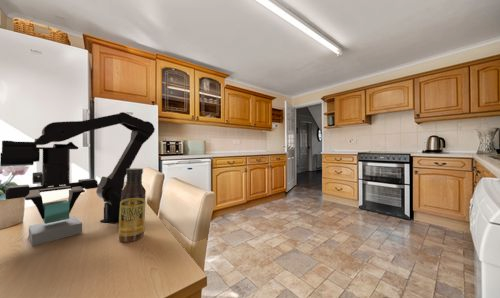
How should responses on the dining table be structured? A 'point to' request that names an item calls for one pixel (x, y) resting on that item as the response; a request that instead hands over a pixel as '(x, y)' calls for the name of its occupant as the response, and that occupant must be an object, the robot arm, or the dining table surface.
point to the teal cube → (56, 211)
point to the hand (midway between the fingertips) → (56, 216)
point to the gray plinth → (54, 230)
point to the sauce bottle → (132, 207)
